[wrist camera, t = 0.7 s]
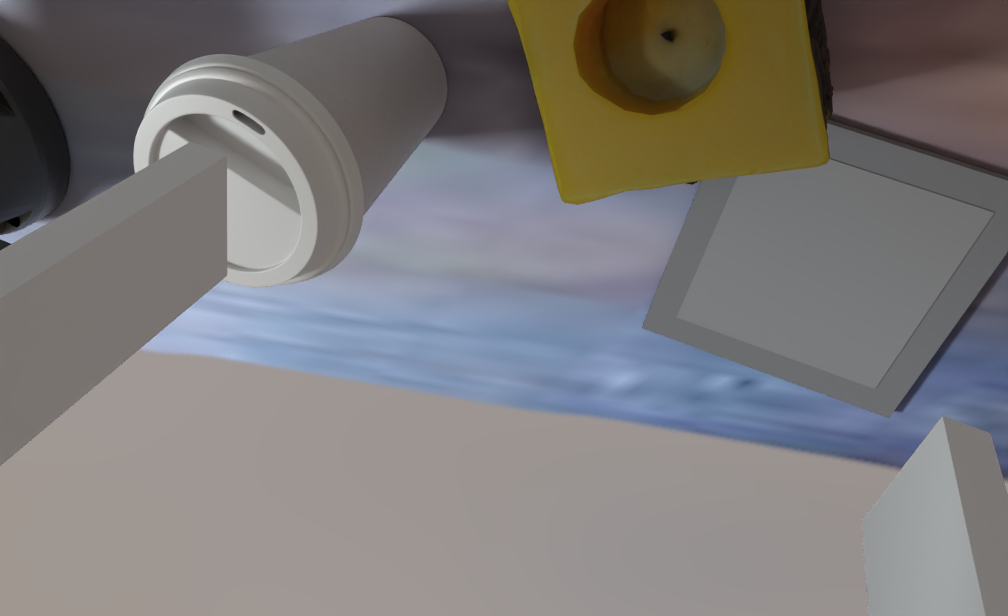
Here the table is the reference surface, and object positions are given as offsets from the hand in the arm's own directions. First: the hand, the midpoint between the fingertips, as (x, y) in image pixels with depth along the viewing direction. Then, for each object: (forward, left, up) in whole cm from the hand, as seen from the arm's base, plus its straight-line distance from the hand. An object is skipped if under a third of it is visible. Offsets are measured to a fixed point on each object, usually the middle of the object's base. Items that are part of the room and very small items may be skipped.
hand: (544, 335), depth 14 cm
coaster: (+10, -10, -26) cm, 30 cm away
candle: (0, 0, -26) cm, 26 cm away
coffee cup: (-14, -8, -26) cm, 31 cm away
